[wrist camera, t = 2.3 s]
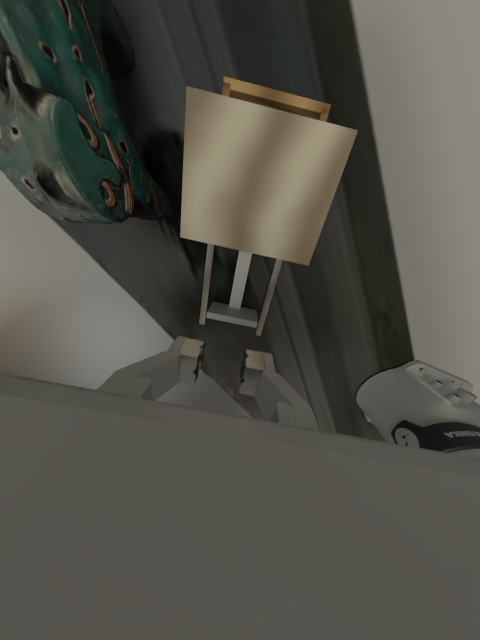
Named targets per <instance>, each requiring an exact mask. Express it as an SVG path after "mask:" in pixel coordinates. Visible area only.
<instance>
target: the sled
mask: <svg viewBox="0 0 480 640" xmlns="http://www.w3.org/2000/svg"><path fill="white" fill-rule="evenodd" d="M251 257H252V253H249V252H245V251H240V250H239V255H238V260H237V265H236V271H235V276H234V282H233V287H232V292H231V298H230V303H229V304H224V303H220V302H215V301H213V302H212V304H211V306H210V308H209V309H208V311H207V316H206V318H210V319H215V320H220V321H225V322H230V323H235V324H240V325H245V326H250V327H255V328H256V326H257V323H258V321H257V311H256V310H253V309H249V308H244V307H241V302H242V298H243V293H244V289H245V284H246V279H247V275H248V270H249V266H250V261H251Z"/></svg>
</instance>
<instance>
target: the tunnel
mask: <svg viewBox="0 0 480 640" xmlns="http://www.w3.org/2000/svg"><path fill="white" fill-rule="evenodd" d="M330 106H331V105H330V104H327V103H323V102H319V101H315V100H311V99H308V98H304V97H300V96H296V95H293V94H289V93H285V92H281V91H277V90H274V89H270V88H266V87H262V86H259V85H255V84H251V83H247V82H243V81H240V80H236V79H232V78H228V77H225V76H224V82H223V92H222V95H219V94H216V93H212V92H208V91H204V90H200V89H196V88H192V87H189V86H187V89H186V112H185V136H184V160H183V184H182V208H181V231H180V237H181V238H186V239H190V240H195V241H199V242H204V243H208V247H207V256H206V265H205V275H204V284H203V293H202V302H201V312H200V321H199V324H202V325H205V320H206V312H207V304H208V296H209V288H210V280H211V272H212V264H213V256H214V248H215V245H218V246H222V247H227V248H231V249H236V250H240V251H245V252H249V253H254V254H258V255H263V256H267V257H272V258H276V261H275V265H274V268H273V272H272V275H271V279H270V283H269V286H268V290H267V293H266V297H265V300H264V304H263V308H262V311H261V315H260V318H259V322H258V325H257V329H256V333H255V335H257V336H261V332H262V329H263V326H264V322H265V319H266V315H267V312H268V309H269V305H270V302H271V299H272V295H273V292H274V289H275V285H276V282H277V279H278V275H279V272H280V268H281V265H282V262H283V260H285V261H290V262H294V263H299V264H303V265H309V263H310V260H311V257H312V255H313V252H314V249H315V246H316V244H317V241H318V238H319V235H320V233H321V230H322V227H323V224H324V222H325V219H326V216H327V213H328V211H329V208H330V205H331V203H332V200H333V197H334V194H335V192H336V189H337V186H338V183H339V181H340V178H341V175H342V172H343V170H344V167H345V164H346V162H347V159H348V156H349V153H350V151H351V148H352V145H353V142H354V140H355V137H356V134H357V131H358V130H354V129H350V128H346V127H343V126H339V125H335V124H331V123H327V122H326V120H327V116H328V113H329V110H330Z"/></svg>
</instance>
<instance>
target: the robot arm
mask: <svg viewBox="0 0 480 640" xmlns="http://www.w3.org/2000/svg"><path fill="white" fill-rule="evenodd" d="M204 348H205V341H202V340H198V339H193V338H189V337H184V336H178V337H177V338H176V340H175V341H174V342H173V344H172V345H171V346H170V348H169V349H168V351H167V352H161V353H159V354H157V355H154V356H152V357H149V358H147V359H144V360H142V361H139V362H137V363H134V364H132V365H129V366H127V367H125V368H122V369H120V370H117V371H115V372H114V373H113V374H112V375H111V377H109V378H108V379H107V381H105V382H104V383H103V384H102V385H101V386H100V387H99V388H98V389H97V390H93V389H87V388H82V387H76V386H70V385H64V384H59V383H53V382H48V381H42V380H37V379H31V378H26V377H20V376H15V375H9V374H3V373H0V640H480V405H479V404H477V403H476V402H475V401H474V400H475V399H477V397H476V396H475V395H474V394H472V393H471V392H472V389H473V385H472V384H470V383H469V382H468V381H465V380H464V379H461V378H459V377H456V376H454V375H452V374H449V373H447V372H445V371H442V370H440V369H437V368H435V367H433V366H431V365H428V364H426V363H423V362H421V361H419V360H413V361H410V362H408V363H406V364H404V365H402V366H401V367H398V368H394V369H390V370H387V371H384V372H381V373H379V374H376V375H375V376H373V377H371V378H370V379H368V380H367V381H366V382H365V383H364V384H363V385H362V386H361V387H360V389H359V390H358V393H357V396H356V401H357V404H358V406H359V407H360V408H361V409H362V410H363V411H364V416H365V418H366V419H367V421H368V422H370V423H373V424H374V426H375V427H376V428H377V429H378V431H379V432H380V433H381V434H382V436H383V437H384V438H385V439H386V441H387V442H383V441H377V440H372V439H366V438H361V437H355V436H349V435H344V434H338V433H333V432H327V431H321V430H319V428H318V425H317V422H316V419H315V417H314V414H313V411H312V409H311V407H310V406H309V405H308V404H307V402H306V401H305V400H304V399H303V398H302V397H301V396H300V395H299V394H298V393H297V392H296V391H295V390H294V389H293V388H292V387H291V386H290V385H289V384H288V383H287V382H286V381H285V380H284V379H283V378H282V377H281V376H280V375H279V374H278V373H276V372H275V367H274V362H273V357H272V354H271V353H265V352H258V351H253V350H247V349H246V350H245V353H244V360H243V361H242V365H241V370H240V378H241V379H240V383H239V393H241V394H246V395H251V396H254V398H255V400H256V402H257V403H258V405H259V407H260V409H261V410H262V412H263V414H264V416H265V418H266V419H267V421H266V420H260V419H255V418H248V417H243V416H238V415H232V414H227V413H220V412H215V411H210V410H204V409H199V408H193V407H187V406H182V405H177V404H171V403H165V402H159V401H155V400H157V399H158V398H159V397H160V396H162V395H163V394H165V393H166V392H167V391H168V390H170V389H171V388H173V387H174V386H175V385H177V384H178V382H180V383H187V384H193V385H194V384H195V382H196V379H197V377H198V371H199V370H200V369H201V366H202V362H203V358H204V353H203V351H204Z"/></svg>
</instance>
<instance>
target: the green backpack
mask: <svg viewBox="0 0 480 640" xmlns="http://www.w3.org/2000/svg"><path fill="white" fill-rule="evenodd" d="M134 68H135V61H134V54H133V49H132V46H131V42H130V39H129V37H128V34H127V32H126V30H125V28H124V26H123V23H122V21H121V19H120V17H119V15H118V13H117V12H116V10H115V8H114V6H113V4H112V2H111V0H0V168H1V169H2V171H3V172H4V174H5V175H6V176H7V178H8V179H9V180H10V182H11V183H12V184H13V185H14V186H15V187H16V188H17V189H18V190H19V191H20V192H21V193H22V195H23V196H24V197H25V198H26V199H27V200H28V201H30V202H31V203H32V204H33V205H34V206H35V207H37V208H38V209H39V210H41V211H42V212H44V213H46V214H47V215H49V216H52V217H54V218H58V219H62V220H66V221H69V222H74V223H105V224H116V223H122V222H123V221H125V220H127V219H128V218H130V217H137V218H141V219H146V220H158V219H166V218H173V217H174V215H173V211H172V206H171V202H170V198H169V196H168V195H167V194H166V193H165V192H164V191H163V190H162V189H161V188H160V186H159V185H158V184H157V183H156V182H155V181H154V179H153V178H152V176H151V174H150V172H149V171H148V169H147V168H146V167H145V166H144V164H143V163H142V161H141V160H140V158H139V156H138V154H137V151H136V149H135V147H134V145H133V143H132V141H131V139H130V137H129V135H128V132H127V129H126V126H125V123H124V121H123V118H122V115H121V113H120V110H119V107H118V103H117V100H116V97H115V93H114V89H113V85H112V82H111V78H110V75H109V72H110V73H111V74H112V75H113V76H119V75H121V74H128V73H131V72H132V71H133V69H134ZM108 70H109V72H108Z"/></svg>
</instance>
